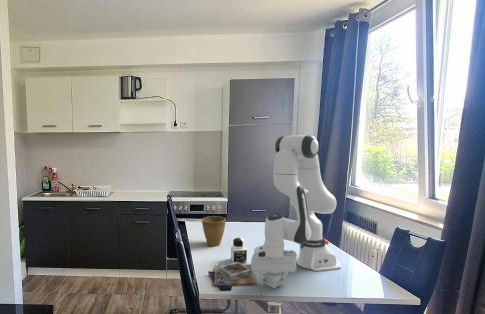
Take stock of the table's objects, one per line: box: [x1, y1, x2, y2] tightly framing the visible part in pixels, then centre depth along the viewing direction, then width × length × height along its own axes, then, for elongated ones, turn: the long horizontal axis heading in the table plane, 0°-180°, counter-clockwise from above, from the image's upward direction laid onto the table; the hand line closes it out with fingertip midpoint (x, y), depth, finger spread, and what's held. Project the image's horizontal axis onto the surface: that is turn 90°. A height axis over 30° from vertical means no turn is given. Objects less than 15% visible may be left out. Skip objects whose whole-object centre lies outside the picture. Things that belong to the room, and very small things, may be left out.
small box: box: [264, 272, 283, 289], centre depth 130 cm, size 6×6×5 cm
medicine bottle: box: [230, 237, 248, 264], centre depth 156 cm, size 7×7×12 cm
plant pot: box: [201, 215, 227, 247], centre depth 181 cm, size 15×15×16 cm
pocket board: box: [213, 262, 258, 287], centre depth 138 cm, size 19×19×4 cm
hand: (273, 280), depth 130 cm, fingers closed on small box, 8 cm apart
